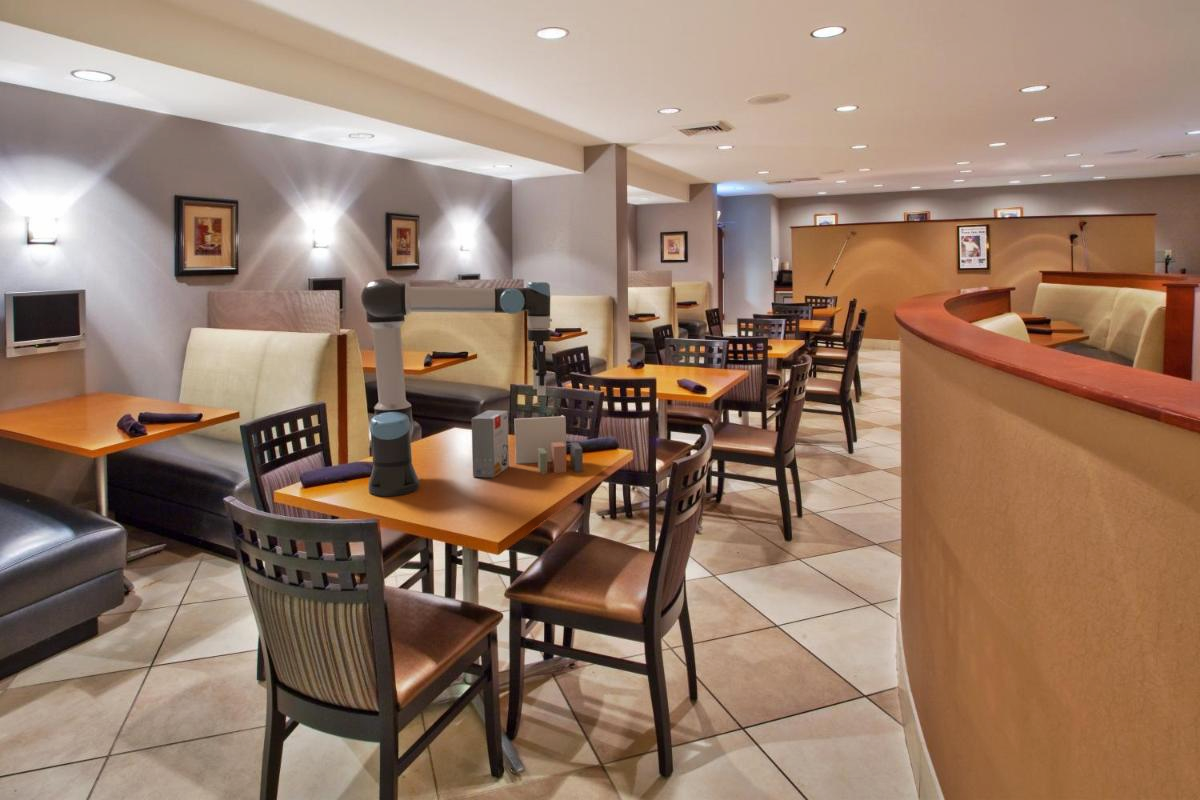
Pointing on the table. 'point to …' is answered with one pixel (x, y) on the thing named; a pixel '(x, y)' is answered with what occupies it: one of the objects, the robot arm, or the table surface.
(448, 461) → the table surface
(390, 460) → the robot arm
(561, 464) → the book
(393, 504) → the table surface
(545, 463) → the divider book
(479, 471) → the hard drive box
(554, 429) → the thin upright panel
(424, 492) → the table surface
